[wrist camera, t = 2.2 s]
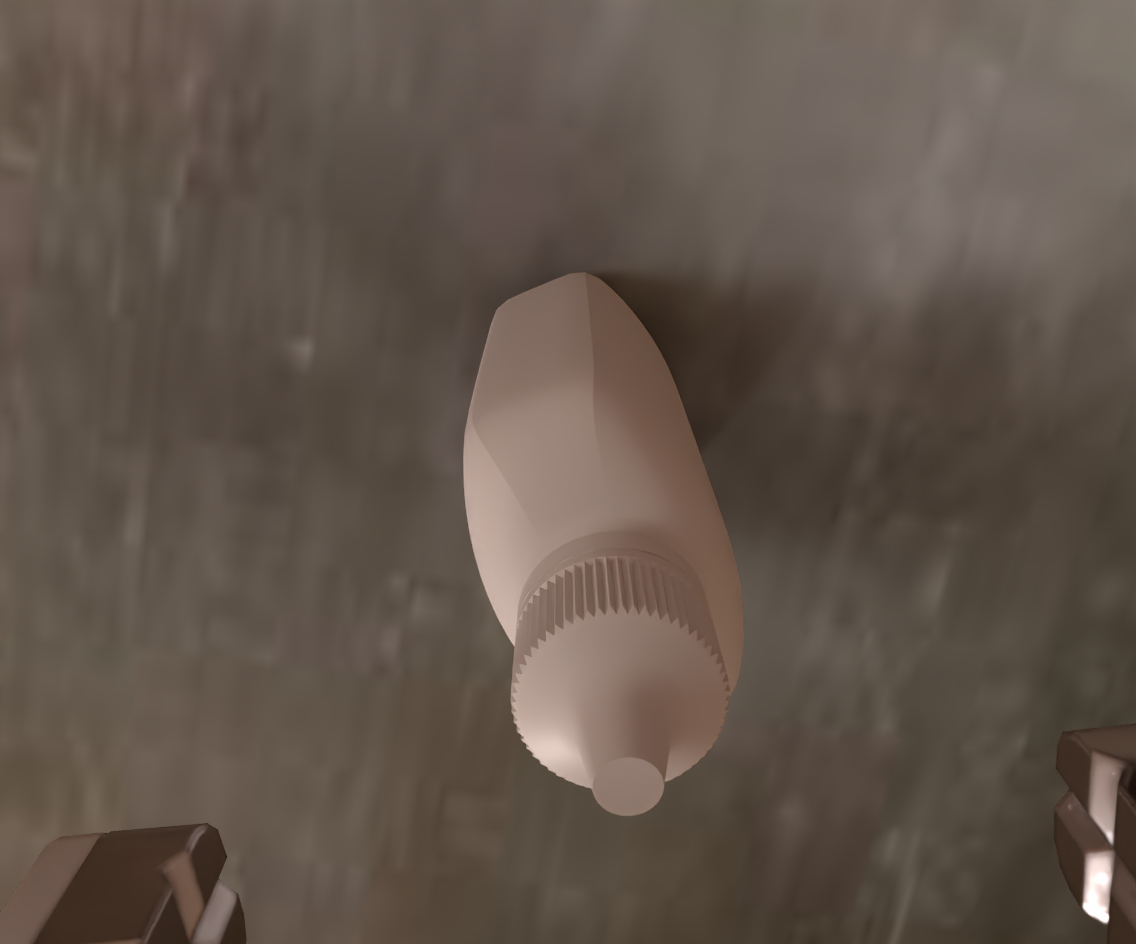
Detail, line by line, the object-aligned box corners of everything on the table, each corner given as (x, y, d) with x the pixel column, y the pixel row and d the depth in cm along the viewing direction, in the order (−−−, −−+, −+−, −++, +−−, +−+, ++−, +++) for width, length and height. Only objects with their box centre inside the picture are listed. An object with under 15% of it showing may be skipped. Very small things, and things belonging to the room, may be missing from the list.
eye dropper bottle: (475, 521, 22) (389, 985, 11) (498, 257, 20) (420, 500, 9) (678, 541, 22) (794, 1015, 11) (721, 281, 20) (914, 548, 9)
